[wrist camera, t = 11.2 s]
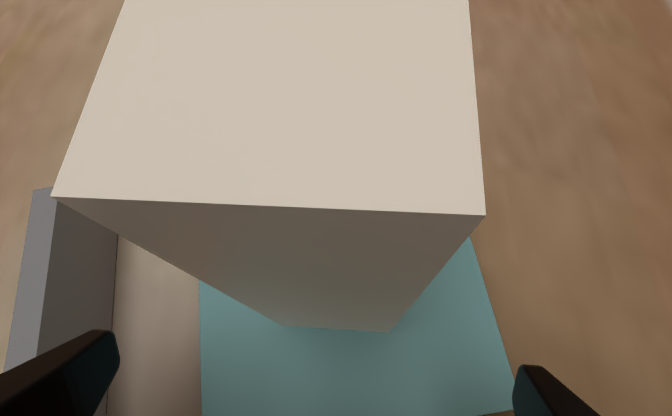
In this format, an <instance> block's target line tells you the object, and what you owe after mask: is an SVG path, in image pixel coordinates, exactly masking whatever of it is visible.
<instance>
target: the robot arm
mask: <svg viewBox="0 0 672 416" xmlns="http://www.w3.org/2000/svg"><path fill="white" fill-rule="evenodd" d="M119 364H120V355H119V351H118V347H117V343H116V339H115V335H114V333H113V332H112V331H110V330H103V329H93V330H90V331H88V332H86V333H84V334H82V335H80V336H78V337H76V338H74V339H72V340H69V341H67V342H65V343H63V344H61V345H59V346H57V347H55V348H53V349H51V350H49V351H47V352H45V353H43V354H41V355H39V356H37V357H35V358H32V359H30V360H28V361H26V362H24V363H22V364H20V365H18V366H16V367H14V368H12V369H10V370H8V371H6V372H4V373H2V374H0V416H94V414H95V412H96V410H97V408H98V406H99V404H100V402H101V401H102V399H103V397H104V395H105V393H106V391H107V389H108V387H109V385H110V383H111V382H112V380H113V378H114V376H115V374H116V372H117V370H118V368H119ZM512 405H513V409H514V414H515V416H600V415H599V414H598V413H597V412H595V411H594V410H593V409H592V408H591V407H590V406H588V405H587V404H586V403H585V402H584V401H582V400H581V399H580V398H579V397H578V396H577V395H575V394H574V393H573V392H572V391H571V390H569V389H568V388H567V387H566V386H565V385H564V384H562V383H561V382H560V381H559V380H558V379H556V378H555V377H554V376H553V375H552V374H551V373H549V372H548V371H547V370H546V369H545V368H543V367H541V366H538V365H526V364H523V365H521V366H520V367H519V369H518V372H517V376H516V380H515V384H514V388H513V392H512Z"/></svg>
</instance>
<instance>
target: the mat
mask: <svg viewBox="0 0 672 416" xmlns="http://www.w3.org/2000/svg"><path fill="white" fill-rule="evenodd" d="M199 304H200V354H201V405H202V416H479V415H485V414H491V413H497V412H503V411H508V410H514V409H513V405H512V392H513V388H514V384H515V381H514V378H513V375H512V371H511V368H510V365H509V362H508V358H507V355H506V352H505V349H504V345H503V342H502V339H501V336H500V332H499V329H498V326H497V323H496V320H495V316H494V313H493V310H492V307H491V303H490V300H489V297H488V294H487V290H486V287H485V284H484V281H483V277H482V274H481V271H480V268H479V264H478V261H477V258H476V255H475V251H474V248H473V245H472V242H471V238H470V235H469V236H468V238H467V239H466V240H465V241H464V243H463V244H462V245H461V246H460V247H459V249H458V250H457V251H456V252H455V253H454V255H453V256H452V257H451V258H450V260H449V261H448V262H447V263H446V264H445V266H444V267H443V268H442V269H441V270H440V272H439V273H438V274H437V275H436V277H435V278H434V279H433V280H432V281H431V283H430V284H429V285H428V286H427V287H426V289H425V290H424V291H423V292H422V294H421V295H420V296H419V297H418V298H417V300H416V301H415V302H414V303H413V304H412V306H411V307H410V308H409V309H408V310H407V312H406V313H405V314H404V315H403V317H402V318H401V319H400V320H399V321H398V323H397V324H396V325H395V326H394V327H393V329H392V330H391V331H390V332H389V333H384V332H370V331H355V330H340V329H325V328H311V327H296V326H282V325H280V324H278V323H276V322H274V321H273V320H271V319H269V318H267V317H266V316H264V315H262V314H260V313H258V312H257V311H255V310H253V309H251V308H249V307H248V306H246V305H244V304H242V303H240V302H239V301H237V300H235V299H233V298H231V297H230V296H228V295H226V294H224V293H222V292H221V291H219V290H217V289H215V288H213V287H212V286H210V285H208V284H206V283H204V282H203V281H201V280H199Z"/></svg>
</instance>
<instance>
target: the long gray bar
mask: <svg viewBox="0 0 672 416" xmlns="http://www.w3.org/2000/svg"><path fill="white" fill-rule="evenodd" d="M52 190H53V187H48V188H42V189H36V190H33V196H32V202H31V208H30V214H29V220H28V226H27V232H26V239H25V245H24V251H23V257H22V263H21V269H20V275H19V281H18V288H17V294H16V300H15V306H14V312H13V318H12V324H11V331H10V337H9V343H8V349H7V355H6V361H5V367H4V372H6V371H8V370H10V369H12V368H14V367H16V366H18V365H20V364H22V363H24V362H26V361H28V360H30V359H32V358H35V357H37V356H39V355H41V354H43V353H45V352H47V351H49V350H51V349H53V348H55V347H57V346H59V345H61V344H63V343H65V342H67V341H69V340H72V339H74V338H76V337H78V336H80V335H82V334H84V333H86V332H88V331H90V330H93V329H103V330H110V331H111V328H112V313H113V298H114V282H115V267H116V252H117V237H118V234H117V233H115V232H113V231H111V230H109V229H108V228H106V227H104V226H102V225H100V224H99V223H97V222H95V221H93V220H91V219H90V218H88V217H86V216H84V215H82V214H81V213H79V212H77V211H75V210H73V209H72V208H70V207H68V206H66V205H65V204H63V203H61V202H59V201H57V200H56V199H54V198H52V197H50V195H51V192H52ZM106 404H107V391H106V393H105V395H104V397H103V399H102V401H101V402H100V404H99V406H98V408H97V410H96V412H95V414H94V416H106Z"/></svg>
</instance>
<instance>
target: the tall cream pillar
mask: <svg viewBox="0 0 672 416" xmlns="http://www.w3.org/2000/svg"><path fill="white" fill-rule="evenodd" d="M50 197H52V198H54V199H56V200H57V201H59V202H61V203H63V204H65V205H66V206H68V207H70V208H72V209H73V210H75V211H77V212H79V213H81V214H82V215H84V216H86V217H88V218H90V219H91V220H93V221H95V222H97V223H99V224H100V225H102V226H104V227H106V228H108V229H109V230H111V231H113V232H115V233H117V234H118V235H120V236H122V237H124V238H126V239H127V240H129V241H131V242H133V243H135V244H136V245H138V246H140V247H142V248H143V249H145V250H147V251H149V252H151V253H152V254H154V255H156V256H158V257H160V258H161V259H163V260H165V261H167V262H169V263H170V264H172V265H174V266H176V267H178V268H179V269H181V270H183V271H185V272H187V273H188V274H190V275H192V276H194V277H196V278H197V279H199V280H201V281H203V282H204V283H206V284H208V285H210V286H212V287H213V288H215V289H217V290H219V291H221V292H222V293H224V294H226V295H228V296H230V297H231V298H233V299H235V300H237V301H239V302H240V303H242V304H244V305H246V306H248V307H249V308H251V309H253V310H255V311H257V312H258V313H260V314H262V315H264V316H266V317H267V318H269V319H271V320H273V321H274V322H276V323H278V324H280V325H282V326H296V327H311V328H325V329H340V330H355V331H370V332H384V333H389V332H390V331H391V330H392V329H393V327H394V326H395V325H396V324H397V323H398V321H399V320H400V319H401V318H402V317H403V315H404V314H405V313H406V312H407V310H408V309H409V308H410V307H411V306H412V304H413V303H414V302H415V301H416V300H417V298H418V297H419V296H420V295H421V294H422V292H423V291H424V290H425V289H426V287H427V286H428V285H429V284H430V283H431V281H432V280H433V279H434V278H435V277H436V275H437V274H438V273H439V272H440V270H441V269H442V268H443V267H444V266H445V264H446V263H447V262H448V261H449V260H450V258H451V257H452V256H453V255H454V253H455V252H456V251H457V250H458V249H459V247H460V246H461V245H462V244H463V243H464V241H465V240H466V239H467V238H468V236H469V235H470V234H471V233H472V232H473V230H474V229H475V228H476V227H477V226H478V224H479V223H480V222H481V221H482V219H483V218H484V217H485V216H486V210H485V198H484V186H483V174H482V162H481V149H480V137H479V125H478V113H477V101H476V89H475V77H474V64H473V52H472V40H471V28H470V16H469V4H468V0H125V1H124V4H123V7H122V9H121V12H120V14H119V17H118V20H117V22H116V25H115V28H114V30H113V33H112V35H111V38H110V41H109V43H108V46H107V48H106V51H105V54H104V56H103V59H102V62H101V64H100V67H99V69H98V72H97V75H96V77H95V80H94V82H93V85H92V88H91V90H90V93H89V96H88V98H87V101H86V103H85V106H84V109H83V111H82V114H81V117H80V119H79V122H78V124H77V127H76V130H75V132H74V135H73V137H72V140H71V143H70V145H69V148H68V151H67V153H66V156H65V158H64V161H63V164H62V166H61V169H60V171H59V174H58V177H57V179H56V182H55V185H54V187H53V190H52V192H51V195H50Z"/></svg>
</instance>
